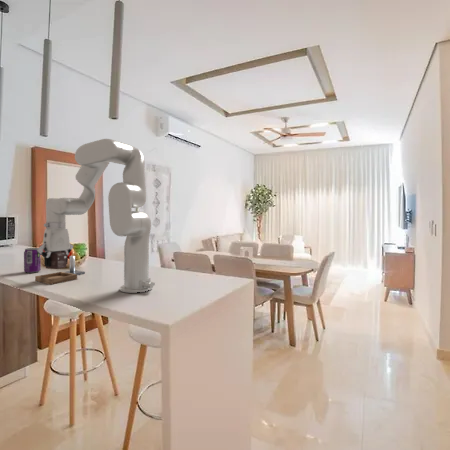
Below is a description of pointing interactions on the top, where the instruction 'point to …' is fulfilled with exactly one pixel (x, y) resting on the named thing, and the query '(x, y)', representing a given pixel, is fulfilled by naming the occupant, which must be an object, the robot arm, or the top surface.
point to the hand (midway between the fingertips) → (56, 264)
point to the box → (57, 260)
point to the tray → (56, 278)
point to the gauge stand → (72, 267)
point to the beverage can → (32, 260)
